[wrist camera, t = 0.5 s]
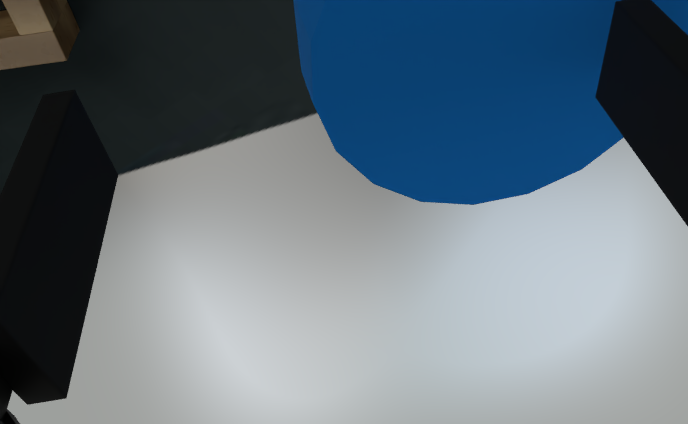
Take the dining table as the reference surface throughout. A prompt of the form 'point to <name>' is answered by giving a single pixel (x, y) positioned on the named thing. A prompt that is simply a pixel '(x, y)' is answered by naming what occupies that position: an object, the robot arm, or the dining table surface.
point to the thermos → (461, 90)
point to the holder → (36, 32)
